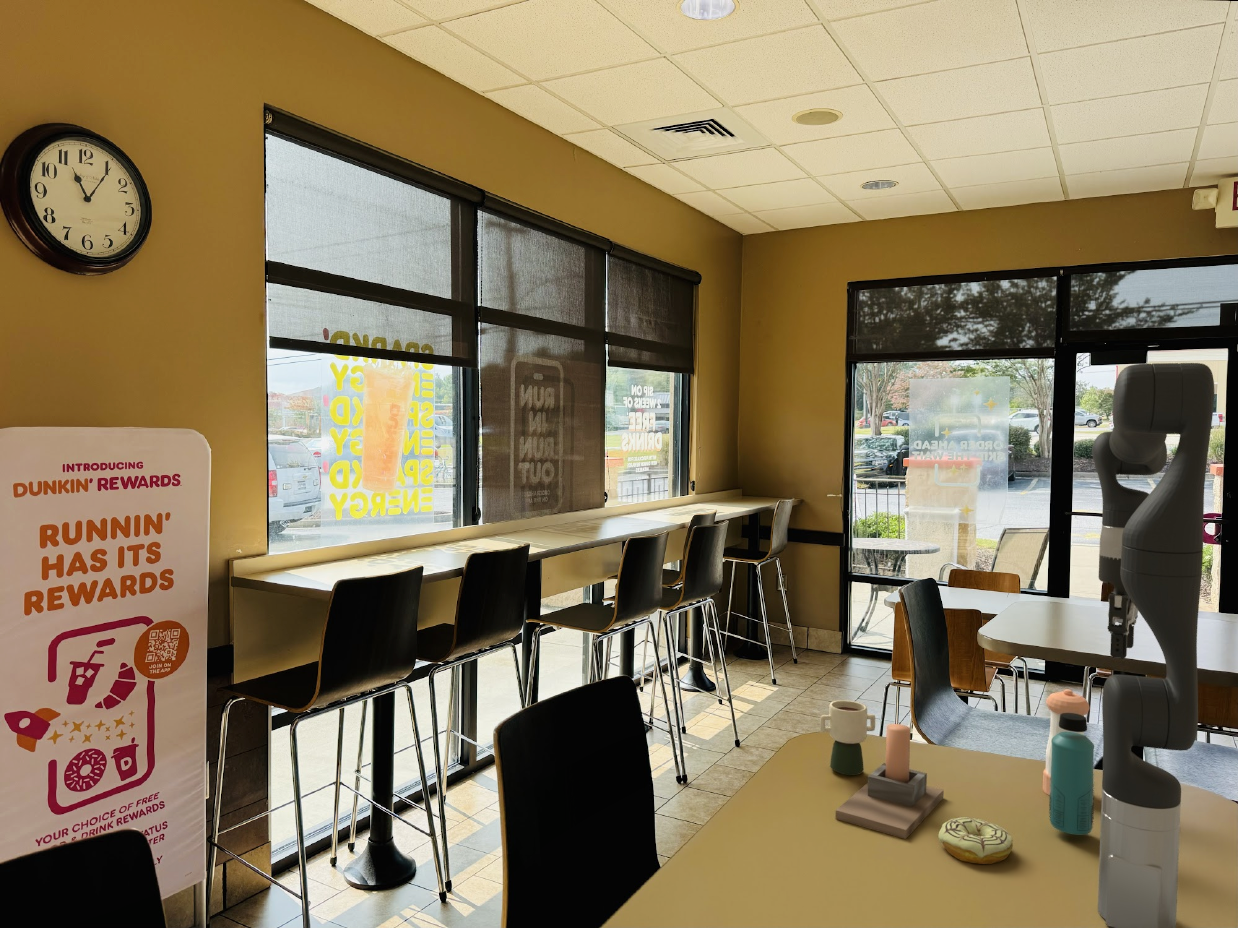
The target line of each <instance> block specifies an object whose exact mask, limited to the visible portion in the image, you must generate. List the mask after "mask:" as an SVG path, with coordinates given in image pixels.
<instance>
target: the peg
mask: <svg viewBox="0 0 1238 928" xmlns="http://www.w3.org/2000/svg"><path fill="white" fill-rule="evenodd" d="M885 737H886V740H885V741H886V743H885V763H886V776H885V778H888V779H892V780H896V781H900V782H904V783H909V769H910V762H911V761H910V756H911V755H910V754H911V753H910V752H911V751H910V750H911V728H910V727H909V726H907V725H904V724H901V723H900V724H899V723H890V724H887V725H886V736H885Z"/></svg>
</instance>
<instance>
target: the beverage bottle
mask: <svg viewBox="0 0 1238 928" xmlns="http://www.w3.org/2000/svg"><path fill="white" fill-rule="evenodd" d="M1059 727H1060V728H1062V729H1064V730H1068V731H1073V732H1060V733H1058V734H1057V735H1055V736H1054V737H1053V738H1052V740H1051V742H1052V759H1051V778H1050V779H1051V781H1050V782H1051V785H1050V786H1051V792H1050V796H1049V795H1048V796H1049V798H1048V799H1049V801H1048V803H1049V807H1048V809H1049V810H1048V816H1049V817H1048V819H1049V822H1050V825H1051V826H1052V827H1053V829H1056V830H1058V831H1060V832H1063V833H1065V834H1066V833H1067V834H1070V835H1077V836H1078V835H1079V836H1083V835H1088V834H1091V832H1092V830H1093V827H1094V819H1095V818H1094V813H1095V812H1094V811H1095V810H1094V809H1095V806H1094V800H1095V789H1094V755H1095V754H1094V751H1095V750H1094V749H1095V744H1094V743H1093V742H1092V741H1091V739H1089V738H1088V737H1087V735H1085V734H1084V735H1082V734H1079V733H1074V732H1084V733H1085V732H1087V731H1088V725H1087V716H1085V715H1084V716H1082V715H1080V714H1076V713H1062V714H1060V720H1059ZM1049 791H1050V790H1049Z"/></svg>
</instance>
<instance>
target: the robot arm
mask: <svg viewBox="0 0 1238 928" xmlns="http://www.w3.org/2000/svg"><path fill="white" fill-rule="evenodd" d="M1112 396H1113V397H1112V424H1113V428H1112V431H1104V432H1102V433H1100V434H1098V435H1097V436H1096V438H1095V439H1094V441H1093V443H1092V448H1091V454H1092V455H1091V456H1092V459H1093V462H1094V466H1095V469H1096V472H1097V473H1096V474H1097V477H1098V479H1099V484H1100V488H1101V497H1102V516H1101V517H1102V519H1101V531H1100V534H1099V535H1100V537H1099V554H1098V557H1099V558H1098V580H1099V582H1101V583H1105V584H1111V585H1113V591H1111V593H1108V604H1109V605H1108V607H1109V608H1108V613H1107V617H1108V623H1107V624H1108V626H1107V630H1108V631H1107V632H1109V634H1110V649H1109V650H1110V651H1109V652H1110V656H1111V657H1112V658H1116V659H1121V660H1122V659H1125V658H1126V657H1127V652H1128V649H1132V648H1133V647H1134V643H1135V642H1134V640H1135V639H1134V638H1135V637H1134V636H1135V625H1136V624H1137V619H1138V616H1139V615H1138V614H1140V616H1141V617H1142V618H1143V619H1144V622H1145V623H1146V624H1147V626H1148V627H1149V628H1150V631H1151V632H1152V634H1153V636H1154V637H1155V640H1156V641H1157V643H1158V645H1159V647H1160V649H1161V651H1162V654H1163V655H1162V656H1163V658H1164V661H1165V665H1166V667H1165V668H1166V677H1165V678H1162V677H1151V676H1149V677H1148V676H1139V675H1132V674H1131V675H1129V674H1111V675H1109V676H1108V677H1107V679H1106V680H1105V682H1104V685H1103V689H1102V697H1101V698H1102V700H1101V702H1102V703H1101V704H1102V705H1101V706H1102V707H1101V708H1102V710H1101V711H1102V714H1101V715H1102V737H1103V739H1102V743H1103V746H1102V748H1103V749H1102V780H1101V808H1100V834H1099V835H1100V837H1099V838H1100V839H1099V865H1098V891H1097V893H1098V894H1097V895H1098V896H1097V899H1098V900H1097V910H1098V913H1099V915H1100V916H1101V918H1103V919H1104V920H1105V925H1106V926H1108V927H1110V928H1177V912H1178V911H1177V908H1178V879H1179V877H1178V876H1179V856H1180V855H1179V853H1180V852H1179V851H1180V849H1179V848H1180V825H1181V802H1182V787H1181V782H1180V781H1179V780H1178V778H1177V777H1176V776H1174V774H1172V773H1171V772H1170V771H1169V772H1168V771H1167V770H1165V769H1164V768H1161V767H1158V766H1156V765H1154V764H1151V763H1150V762H1147V761H1146V760H1144V759H1142V758H1141V757H1139V756H1137V755H1136V754H1135V753H1134V752H1132V747H1133V746H1135V747H1142V748H1143V747H1144V748H1151V749H1160V750H1170V751H1181V752H1182V751H1188V750H1191V748H1193V745H1194V743H1195V741H1196V738H1197V733H1198V727H1199V726H1198V725H1199V690H1198V689H1199V688H1198V687H1199V685H1198V655H1197V654H1198V652H1197V650H1198V647H1197V646H1198V624H1199V623H1198V622H1199V621H1198V620H1199V608H1200V598H1201V596H1200V595H1201V585H1202V578H1203V577H1202V576H1203V558H1204V556H1203V555H1204V513H1205V511H1204V509H1205V508H1204V507H1205V503H1204V502H1205V482H1206V474H1207V472H1206V471H1207V466H1208V455H1209V448H1210V441H1211V440H1210V439H1211V438H1210V437H1211V432H1212V423H1213V413H1214V405H1215V381H1214V375H1213V371H1212V370H1211V368H1210V366H1208V365H1206V363H1205V364H1204V363H1199V362H1175V363H1174V362H1168V363H1167V362H1160V363H1137V364H1136V363H1135V364H1131V365H1127V366H1126V367H1124V368H1123V369H1122V370H1121V371H1120V372H1119V374H1118V376H1117V377H1116V380H1115V384H1114V389H1113V394H1112ZM1175 434H1176V435H1179V440H1178V445H1177V447H1176V451H1175V454H1174V456H1173V458H1172V461H1171V463H1170V465H1169V466H1168V468H1167V469H1166V471H1165V473H1164V474H1163V476H1162V477H1161V479H1160V481H1159V482H1158V483H1157V484H1156V486H1155V487H1154V488H1153V489H1152V491H1151V492H1150V493H1148V492H1147V491H1144V490H1141V489H1134V488H1129V487H1127V486H1124V485H1122V484H1120V482H1119V481H1118V478H1117V476H1118V475H1120V476H1122V475H1125V476H1154V475H1157V474H1159V473H1160V472H1162V471H1163V469H1164V468H1165V466H1166V463H1167V459H1168V448H1167V444H1166V440H1167V436H1168V435H1175ZM1116 623H1118V624H1116Z"/></svg>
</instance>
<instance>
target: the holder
mask: <svg viewBox="0 0 1238 928" xmlns="http://www.w3.org/2000/svg"><path fill="white" fill-rule="evenodd" d="M885 776H886V762H883V763H882V764H881V765H880V766H879V767H878V768H876V769H874V770H873V772H871V773H870V774H869V775H868V776H867V783H866V784H864V785H863V786H862V787H861V788H860V789H859V790H858V791H856V792H855V793H853V795H852V796H850V797H849V798H848V799H847V800H846V801H844V802H843V803H842V804H841V805H840V806H839V807H837V808H836V809H835V820H838V821H842V822H844V823H848V824H852V825H856V826H859V827H863V828H867V829H869V830H873V831H877V832H880V833H884V834H886V835H891V836H894V837H897V838H899V839H900V838H901V839H905V840H906V839H907V838H908V837H910V835H911V834H912V832H914V830H916V828H917V827H918V826H919V825H920V824H921V823H922V822H923V821H924V820H925V819H926V817H927V816H928V815H929V814H930V813H931V812H932V811H933V810H934V809H935V808H936V806H938V805H939V803H941V801H942V800H943V799H944V789H941V788H938V787H933V786H929V785H927V782H928V781H927V780H928V779H927V778H928V773H927V772H923V771H920V770H919V771H918V770H915V769H911V768H909V783H904V782H900V781H896V780H892V779H888V778H885Z"/></svg>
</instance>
